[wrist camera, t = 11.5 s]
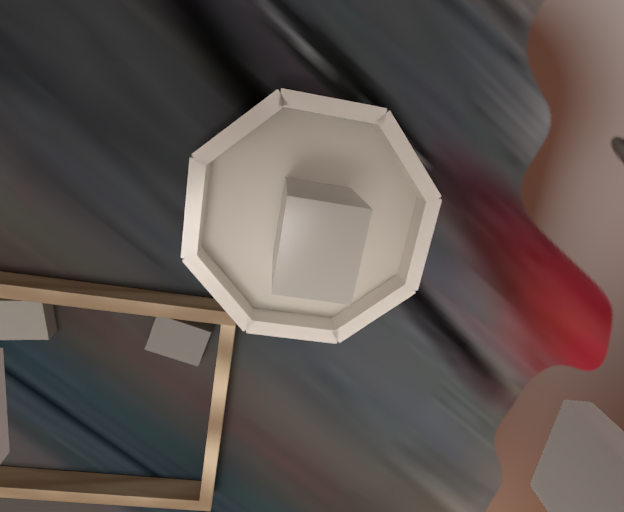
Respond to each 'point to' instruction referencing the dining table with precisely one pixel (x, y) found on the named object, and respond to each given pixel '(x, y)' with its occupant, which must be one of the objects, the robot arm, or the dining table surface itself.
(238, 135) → the bowl
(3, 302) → the light grey block
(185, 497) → the wooden frame
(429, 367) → the dining table surface
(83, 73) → the dining table surface
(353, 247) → the pale grey block
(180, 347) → the grey rectangular block
